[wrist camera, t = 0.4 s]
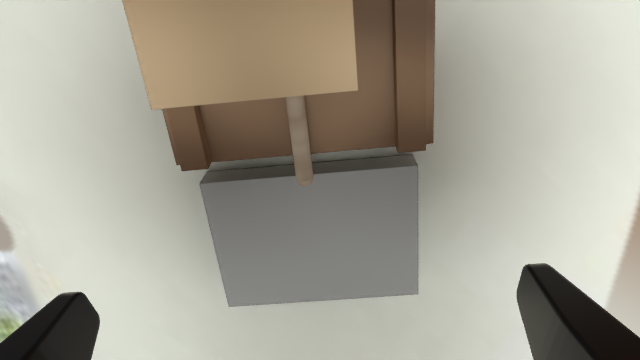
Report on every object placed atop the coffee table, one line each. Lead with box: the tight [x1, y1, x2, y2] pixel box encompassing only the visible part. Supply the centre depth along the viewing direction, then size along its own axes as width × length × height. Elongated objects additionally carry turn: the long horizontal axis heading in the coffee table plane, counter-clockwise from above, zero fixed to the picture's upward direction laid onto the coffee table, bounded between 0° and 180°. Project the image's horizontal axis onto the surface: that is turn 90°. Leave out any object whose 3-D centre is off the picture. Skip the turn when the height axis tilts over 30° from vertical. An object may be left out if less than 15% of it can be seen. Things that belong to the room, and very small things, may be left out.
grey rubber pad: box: [200, 155, 418, 307], centre depth 24 cm, size 8×11×2 cm
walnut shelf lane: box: [162, 0, 435, 171], centre depth 18 cm, size 11×12×3 cm
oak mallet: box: [122, 0, 358, 186], centre depth 14 cm, size 10×4×10 cm, turn 6°
